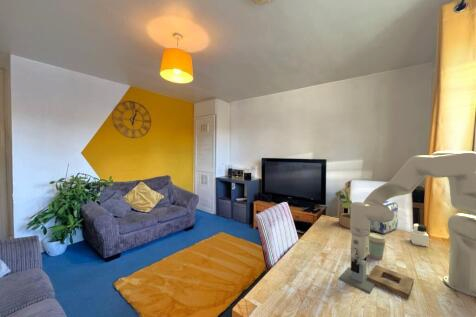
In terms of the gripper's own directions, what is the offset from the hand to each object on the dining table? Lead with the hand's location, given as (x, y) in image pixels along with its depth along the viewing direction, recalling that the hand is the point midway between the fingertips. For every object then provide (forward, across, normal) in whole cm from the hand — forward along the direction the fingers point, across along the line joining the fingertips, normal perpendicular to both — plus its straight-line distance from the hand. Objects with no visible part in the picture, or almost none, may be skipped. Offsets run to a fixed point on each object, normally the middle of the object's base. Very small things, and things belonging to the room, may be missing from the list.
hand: (358, 267), depth 88 cm
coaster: (+6, 0, 0) cm, 6 cm away
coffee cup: (+6, +29, 0) cm, 30 cm away
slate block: (+5, 0, 0) cm, 5 cm away
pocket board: (+6, +9, -10) cm, 15 cm away
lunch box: (+6, +77, +6) cm, 77 cm away
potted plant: (+6, +65, +26) cm, 70 cm away
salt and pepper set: (+6, +69, -14) cm, 71 cm away
